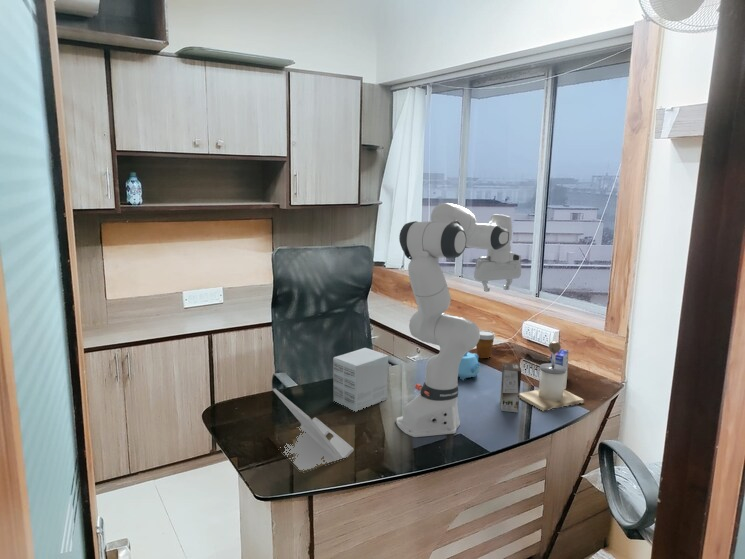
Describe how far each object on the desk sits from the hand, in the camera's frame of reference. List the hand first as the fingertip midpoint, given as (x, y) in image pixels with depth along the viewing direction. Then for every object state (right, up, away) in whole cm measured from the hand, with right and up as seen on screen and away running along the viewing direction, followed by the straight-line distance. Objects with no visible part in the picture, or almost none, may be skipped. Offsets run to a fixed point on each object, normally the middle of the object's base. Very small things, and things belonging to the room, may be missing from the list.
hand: (496, 290), depth 204 cm
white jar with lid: (+20, -41, -3) cm, 46 cm away
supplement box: (-54, -42, -6) cm, 69 cm away
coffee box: (+3, -44, -9) cm, 45 cm away
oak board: (+20, -43, -2) cm, 47 cm away
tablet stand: (-69, -49, -40) cm, 94 cm away
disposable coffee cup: (+5, -33, +47) cm, 58 cm away
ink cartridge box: (+31, -39, +20) cm, 54 cm away
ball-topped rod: (+21, -29, -5) cm, 36 cm away
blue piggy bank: (-10, -38, +21) cm, 44 cm away
